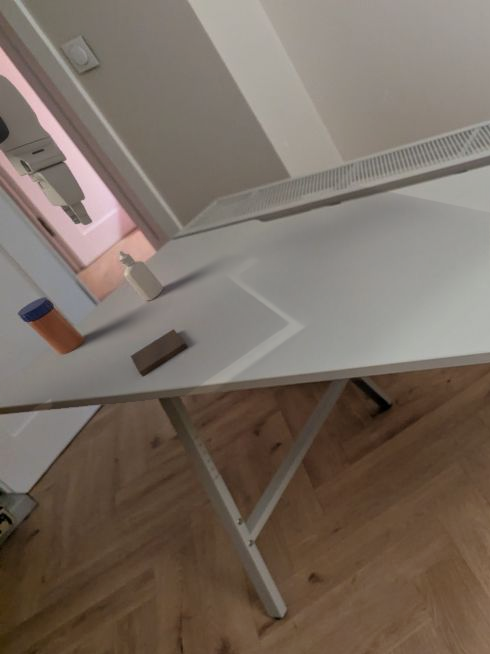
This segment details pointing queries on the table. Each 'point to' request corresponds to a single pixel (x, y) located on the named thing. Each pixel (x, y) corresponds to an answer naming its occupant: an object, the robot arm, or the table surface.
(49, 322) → the jar
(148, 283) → the eye dropper bottle
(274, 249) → the table surface
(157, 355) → the board
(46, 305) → the lid
